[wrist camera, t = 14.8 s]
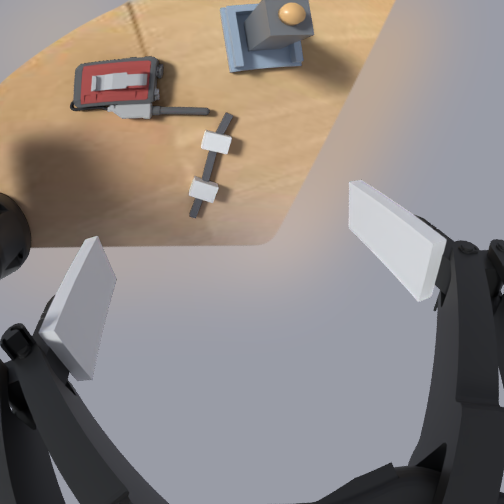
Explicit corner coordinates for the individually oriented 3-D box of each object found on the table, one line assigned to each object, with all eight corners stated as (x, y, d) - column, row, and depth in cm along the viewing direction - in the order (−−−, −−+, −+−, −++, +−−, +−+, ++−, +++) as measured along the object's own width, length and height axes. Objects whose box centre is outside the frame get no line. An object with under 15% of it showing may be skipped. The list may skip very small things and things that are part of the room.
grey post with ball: (248, 51, 32) (274, 33, 21) (243, 22, 30) (267, -7, 18) (280, 48, 32) (318, 33, 21) (275, 20, 30) (312, -6, 19)
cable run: (183, 213, 43) (183, 219, 42) (211, 108, 36) (212, 109, 34) (208, 218, 45) (208, 224, 43) (237, 115, 37) (240, 116, 36)
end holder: (229, 72, 34) (232, 70, 31) (219, 9, 29) (222, 3, 26) (299, 66, 35) (307, 64, 32) (289, 6, 30) (297, 0, 27)
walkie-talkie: (73, 122, 33) (208, 118, 37) (61, 126, 29) (210, 121, 34) (76, 65, 28) (214, 59, 33) (64, 63, 25) (217, 55, 29)
